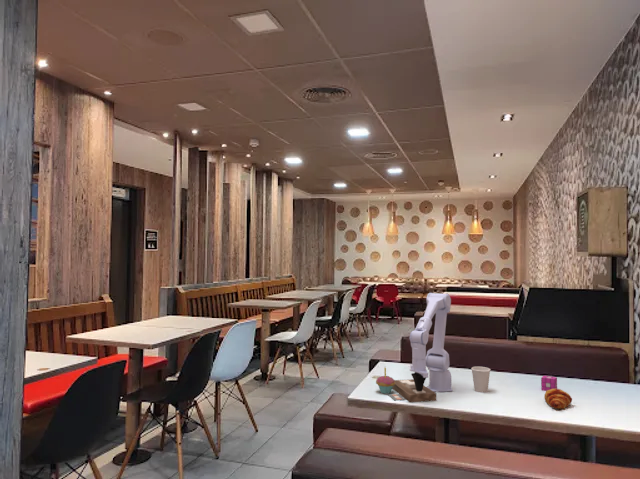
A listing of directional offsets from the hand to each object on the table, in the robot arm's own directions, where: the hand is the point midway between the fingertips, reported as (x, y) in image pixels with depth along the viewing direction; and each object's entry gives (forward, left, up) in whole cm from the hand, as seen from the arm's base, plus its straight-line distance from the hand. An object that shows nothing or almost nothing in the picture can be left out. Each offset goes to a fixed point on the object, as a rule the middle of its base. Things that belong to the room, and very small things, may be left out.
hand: (419, 390), depth 196 cm
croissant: (-54, +17, -4) cm, 57 cm away
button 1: (0, -16, -3) cm, 16 cm away
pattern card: (+9, -3, -3) cm, 10 cm away
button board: (0, -8, -3) cm, 9 cm away
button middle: (0, -8, -2) cm, 8 cm away
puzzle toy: (-65, -3, -4) cm, 65 cm away
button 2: (0, 0, -3) cm, 3 cm away
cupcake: (+11, -12, -4) cm, 17 cm away
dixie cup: (-33, -7, -4) cm, 34 cm away
